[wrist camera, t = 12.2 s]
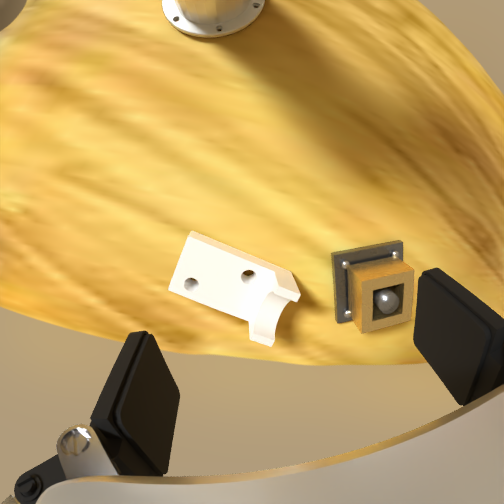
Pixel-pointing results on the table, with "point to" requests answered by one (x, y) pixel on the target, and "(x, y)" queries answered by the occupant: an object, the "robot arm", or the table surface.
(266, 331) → the bracket
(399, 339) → the table surface
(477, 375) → the robot arm
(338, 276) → the peg base plate
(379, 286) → the collar
